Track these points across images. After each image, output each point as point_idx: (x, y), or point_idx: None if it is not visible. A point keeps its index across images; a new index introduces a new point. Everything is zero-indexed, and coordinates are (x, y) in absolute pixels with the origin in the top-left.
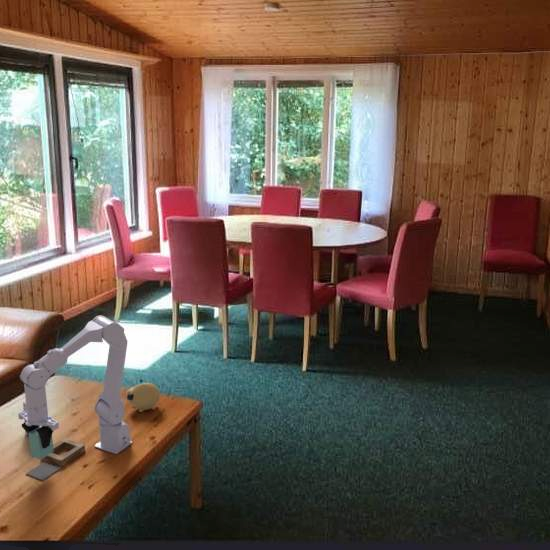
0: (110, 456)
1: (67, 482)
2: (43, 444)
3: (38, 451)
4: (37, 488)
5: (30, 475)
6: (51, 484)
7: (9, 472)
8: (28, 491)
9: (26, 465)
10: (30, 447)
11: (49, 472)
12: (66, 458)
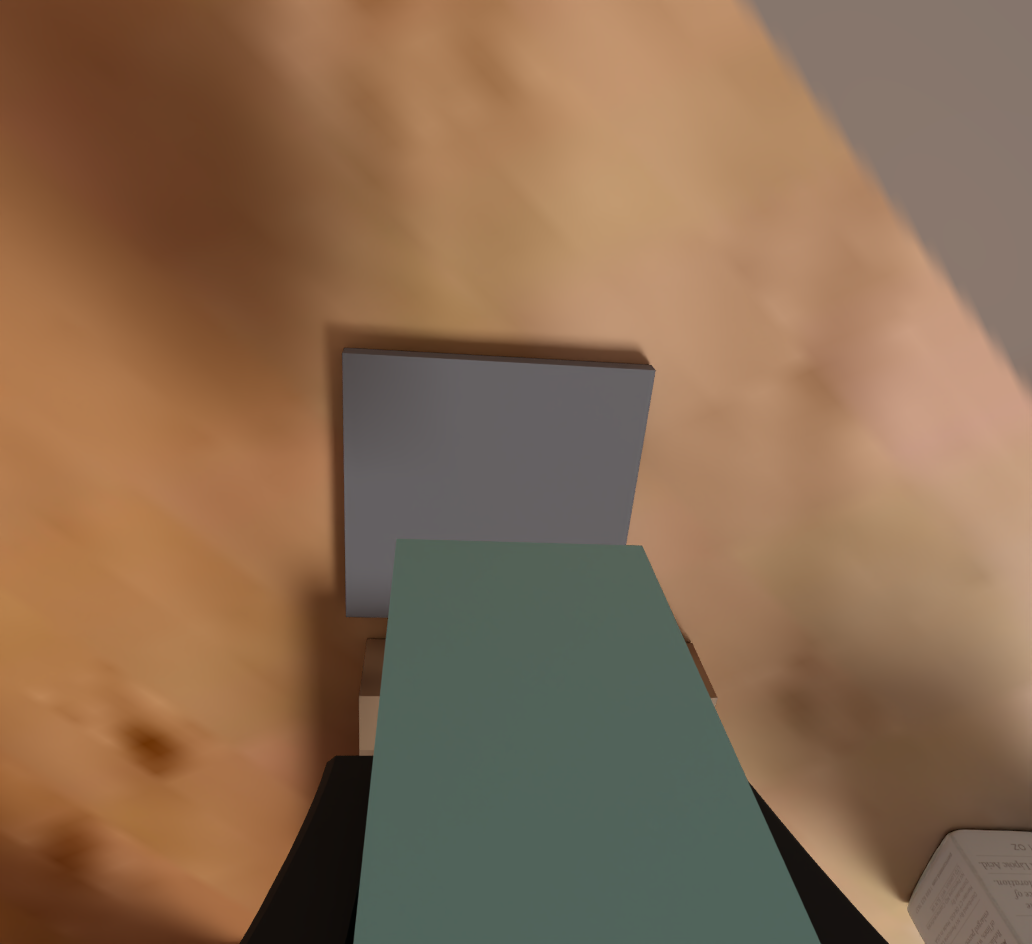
0: (70, 924)
1: (40, 456)
2: (295, 852)
3: (430, 646)
4: (276, 188)
5: (575, 364)
6: (183, 341)
7: (885, 311)
8: (334, 71)
9: (770, 499)
10: (685, 668)
11: (393, 503)
12: (362, 746)
